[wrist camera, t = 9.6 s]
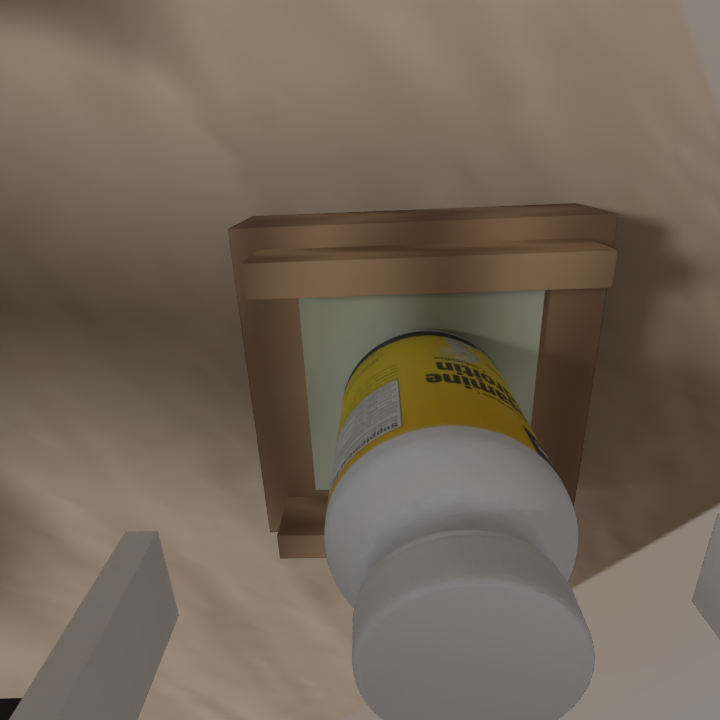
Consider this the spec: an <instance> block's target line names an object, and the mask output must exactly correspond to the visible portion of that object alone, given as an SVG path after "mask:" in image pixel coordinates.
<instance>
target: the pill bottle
mask: <svg viewBox="0 0 720 720" xmlns="http://www.w3.org/2000/svg"><path fill="white" fill-rule="evenodd" d="M324 541H325V552H326V556H327V561H328V564H329V567H330V570H331V573H332V575H333V578H334V580H335V582H336V584H337V586H338V587H339V589H340V591H341V592H342V594H343V595H344V597H345V598H346V599H347V601H348V602H349V603H350V604H351V606H352V607H353V608H354V612H353V642H352V665H353V672H354V678H355V682H356V684H357V687H358V690H359V692H360V694H361V696H362V697H363V699H364V700H365V702H366V703H367V704H368V706H369V707H370V708H371V709H372V710H373V711H374V712H375V713H376V714H377V715H378V716H379V717H381V718H382V719H383V720H558V719H559V718H561V717H562V716H563V715H564V714H566V713H567V712H568V711H569V710H570V709H571V708H573V707H574V706H575V704H576V703H577V702H578V701H579V700H580V698H581V697H582V695H583V694H584V692H585V691H586V689H587V687H588V685H589V683H590V680H591V677H592V674H593V671H594V661H595V654H594V647H593V641H592V638H591V635H590V632H589V629H588V627H587V624H586V622H585V620H584V617H583V615H582V612H581V610H580V608H579V605H578V603H577V600H576V598H575V596H574V593H573V591H572V589H571V587H570V585H569V584H568V580H569V578H570V576H571V573H572V571H573V568H574V564H575V560H576V556H577V549H578V524H577V518H576V515H575V511H574V507H573V504H572V502H571V499H570V497H569V494H568V492H567V490H566V488H565V486H564V484H563V482H562V481H561V479H560V477H559V475H558V474H557V472H556V470H555V468H554V467H553V465H552V463H551V462H550V460H549V458H548V456H547V454H546V453H545V451H544V450H543V448H542V446H541V444H540V443H539V441H538V439H537V437H536V436H535V434H534V432H533V430H532V429H531V427H530V425H529V423H528V422H527V420H526V418H525V417H524V415H523V413H522V411H521V409H520V407H519V406H518V404H517V402H516V400H515V398H514V397H513V395H512V393H511V391H510V390H509V388H508V386H507V384H506V382H505V381H504V379H503V377H502V375H501V373H500V372H499V370H498V369H497V367H496V366H495V364H494V363H493V361H492V360H491V359H490V358H489V357H488V356H487V355H486V354H485V353H484V352H483V351H482V350H481V349H480V348H479V347H477V346H476V345H475V344H473V343H471V342H470V341H468V340H466V339H464V338H462V337H460V336H457V335H454V334H451V333H448V332H443V331H437V330H416V331H410V332H404V333H401V334H398V335H395V336H393V337H390V338H388V339H386V340H384V341H382V342H381V343H379V344H378V345H376V346H375V347H373V348H372V349H371V350H370V351H369V352H367V353H366V354H365V355H364V356H363V357H362V359H361V360H360V361H359V362H358V363H357V365H356V366H355V368H354V369H353V371H352V373H351V375H350V377H349V379H348V382H347V384H346V387H345V391H344V396H343V401H342V408H341V415H340V422H339V429H338V435H337V442H336V449H335V455H334V462H333V469H332V476H331V483H330V489H329V496H328V503H327V511H326V519H325V529H324Z"/></svg>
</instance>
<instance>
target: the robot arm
mask: <svg viewBox="0 0 720 720" xmlns="http://www.w3.org/2000/svg"><path fill="white" fill-rule="evenodd" d="M692 602H693V603H694V605H695V606H696V607H697V609H698V610H699V611H700V613H701V614H702V616H703V617H704V618H705V620H706V621H707V622H708V624H709V625H710V626H711V628H712V629H713V631H714V632H715V633H716V634H717V636H718V637H719V639H720V514H718V515H717V518H716V521H715V525H714V528H713V531H712V535H711V538H710V541H709V545H708V548H707V552H706V555H705V558H704V562H703V565H702V569H701V572H700V576H699V579H698V583H697V586H696V589H695V593H694V596H693V600H692ZM178 616H179V614H178V610H177V606H176V602H175V598H174V594H173V590H172V586H171V582H170V578H169V574H168V570H167V566H166V562H165V558H164V554H163V550H162V546H161V542H160V538H159V534H158V531H137V532H125V534H124V535H123V537H122V539H121V540H120V542H119V543H118V545H117V547H116V548H115V550H114V552H113V553H112V555H111V556H110V558H109V560H108V561H107V563H106V564H105V566H104V568H103V569H102V571H101V572H100V574H99V576H98V577H97V579H96V580H95V582H94V584H93V585H92V587H91V589H90V590H89V592H88V593H87V595H86V597H85V598H84V600H83V601H82V603H81V605H80V606H79V608H78V609H77V611H76V613H75V614H74V616H73V618H72V619H71V621H70V622H69V624H68V626H67V627H66V629H65V630H64V632H63V634H62V635H61V637H60V638H59V640H58V642H57V643H56V645H55V646H54V648H53V650H52V651H51V653H50V655H49V656H48V658H47V659H46V661H45V663H44V664H43V666H42V667H41V669H40V671H39V672H38V674H37V675H36V677H35V679H34V680H33V682H32V684H31V685H30V687H29V688H28V690H27V692H26V693H25V695H24V696H23V698H9V699H0V720H137V719H138V717H139V714H140V712H141V709H142V707H143V704H144V702H145V699H146V697H147V694H148V691H149V689H150V686H151V684H152V681H153V679H154V676H155V674H156V671H157V669H158V666H159V664H160V661H161V659H162V656H163V654H164V651H165V648H166V646H167V643H168V641H169V638H170V636H171V633H172V631H173V628H174V626H175V623H176V621H177V618H178Z"/></svg>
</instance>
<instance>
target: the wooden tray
mask: <svg viewBox="0 0 720 720" xmlns="http://www.w3.org/2000/svg"><path fill="white" fill-rule="evenodd" d="M617 219H618V214H617V213H613V212H609V211H605V210H600V209H596V208H592V207H588V206H584V205H580V204H576V203H575V204H550V205H525V206H500V207H475V208H449V209H424V210H399V211H374V212H349V213H324V214H299V215H274V216H252V217H250V218H248V219H246V220H245V221H243V222H241V223H239V224H237V225H235V226H233V227H231V228H229V229H228V233H229V240H230V247H231V254H232V261H233V269H234V276H235V283H236V290H237V297H238V305H239V312H240V319H241V326H242V333H243V341H244V348H245V355H246V362H247V369H248V377H249V384H250V391H251V398H252V405H253V413H254V420H255V427H256V434H257V441H258V448H259V456H260V463H261V470H262V477H263V484H264V492H265V499H266V506H267V513H268V520H269V528H270V532H278V535H277V538H278V546H279V553H280V558H327V556H326V552H325V541H324V529H325V519H326V511H327V503H328V496H329V489H330V483H331V476H332V469H333V462H334V455H335V449H336V442H337V435H338V429H339V422H340V415H341V408H342V401H343V396H344V391H345V387H346V384H347V382H348V379H349V377H350V375H351V373H352V371H353V369H354V368H355V366H356V365H357V363H358V362H359V361H360V360H361V359H362V357H363V356H364V355H365V354H366V353H367V352H369V351H370V350H371V349H372V348H373V347H375V346H376V345H378V344H379V343H381V342H382V341H384V340H386V339H388V338H390V337H393V336H395V335H398V334H401V333H404V332H410V331H416V330H437V331H443V332H448V333H451V334H454V335H457V336H460V337H462V338H464V339H466V340H468V341H470V342H471V343H473V344H475V345H476V346H477V347H479V348H480V349H481V350H482V351H483V352H484V353H485V354H486V355H487V356H488V357H489V358H490V359H491V360H492V361H493V363H494V364H495V366H496V367H497V369H498V370H499V372H500V373H501V375H502V377H503V379H504V381H505V382H506V384H507V386H508V388H509V390H510V391H511V393H512V395H513V397H514V398H515V400H516V402H517V404H518V406H519V407H520V409H521V411H522V413H523V415H524V417H525V418H526V420H527V422H528V423H529V425H530V427H531V429H532V430H533V432H534V434H535V436H536V437H537V439H538V441H539V443H540V444H541V446H542V448H543V450H544V451H545V453H546V454H547V456H548V458H549V460H550V462H551V463H552V465H553V467H554V468H555V470H556V472H557V474H558V475H559V477H560V479H561V481H562V482H563V484H564V486H565V488H566V490H567V492H568V494H569V497H570V499H571V502H572V504H573V507H574V502H575V495H576V489H577V482H578V476H579V469H580V463H581V456H582V449H583V443H584V436H585V430H586V423H587V416H588V410H589V403H590V397H591V390H592V383H593V377H594V370H595V364H596V357H597V351H598V344H599V337H600V331H601V324H602V318H603V311H604V304H605V298H606V291H607V288H612V285H613V279H614V272H615V266H616V260H617V253H618V250H616V249H613V245H614V239H615V232H616V225H617Z"/></svg>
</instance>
